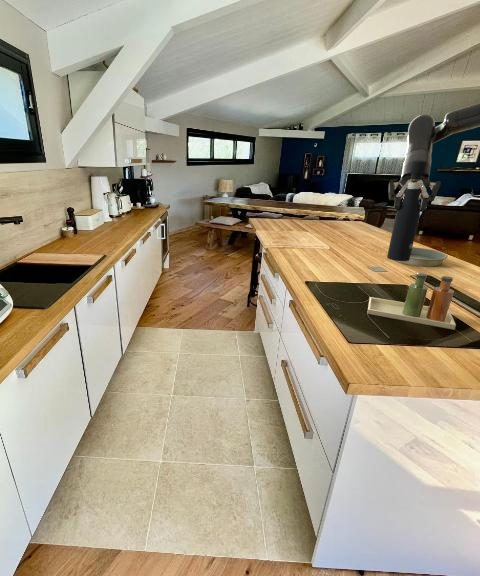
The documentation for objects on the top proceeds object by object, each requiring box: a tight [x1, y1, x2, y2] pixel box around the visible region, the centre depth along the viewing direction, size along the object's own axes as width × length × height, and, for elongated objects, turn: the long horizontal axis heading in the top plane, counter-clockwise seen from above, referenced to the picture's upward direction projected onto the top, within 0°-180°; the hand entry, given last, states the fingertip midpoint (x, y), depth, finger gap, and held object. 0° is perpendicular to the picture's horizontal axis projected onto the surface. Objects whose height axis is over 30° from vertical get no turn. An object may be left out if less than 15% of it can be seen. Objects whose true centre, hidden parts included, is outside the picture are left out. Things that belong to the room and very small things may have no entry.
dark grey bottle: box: [386, 162, 427, 262], centre depth 99 cm, size 6×6×30 cm
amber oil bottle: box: [426, 275, 455, 322], centre depth 98 cm, size 5×5×14 cm
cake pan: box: [396, 246, 448, 268], centre depth 162 cm, size 25×25×4 cm
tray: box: [366, 296, 457, 330], centre depth 104 cm, size 23×12×2 cm, turn 60°
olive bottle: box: [402, 272, 429, 317], centre depth 101 cm, size 5×5×14 cm
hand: (409, 209), depth 97 cm, fingers closed on dark grey bottle, 5 cm apart
